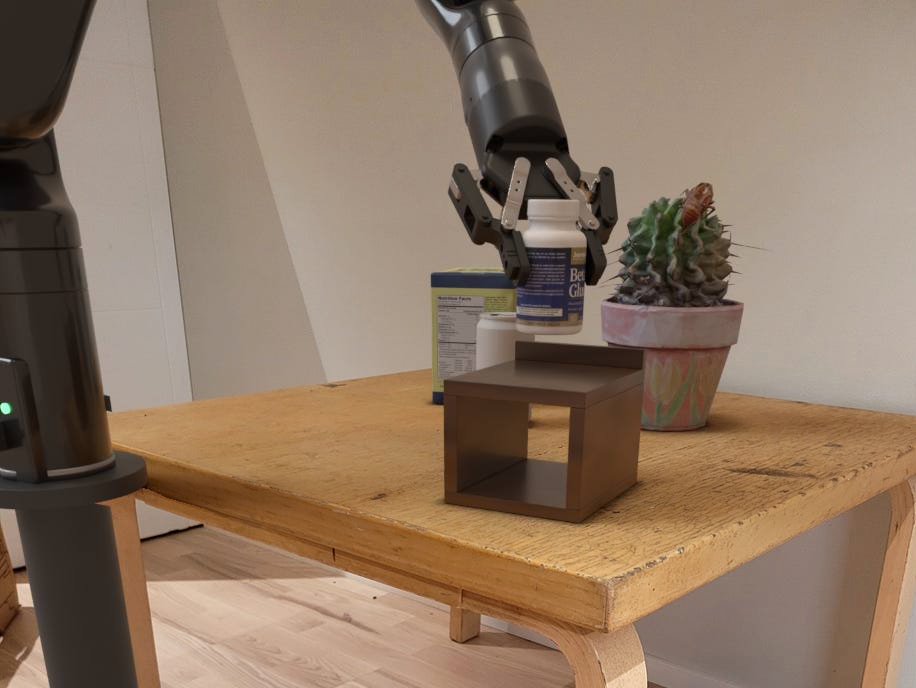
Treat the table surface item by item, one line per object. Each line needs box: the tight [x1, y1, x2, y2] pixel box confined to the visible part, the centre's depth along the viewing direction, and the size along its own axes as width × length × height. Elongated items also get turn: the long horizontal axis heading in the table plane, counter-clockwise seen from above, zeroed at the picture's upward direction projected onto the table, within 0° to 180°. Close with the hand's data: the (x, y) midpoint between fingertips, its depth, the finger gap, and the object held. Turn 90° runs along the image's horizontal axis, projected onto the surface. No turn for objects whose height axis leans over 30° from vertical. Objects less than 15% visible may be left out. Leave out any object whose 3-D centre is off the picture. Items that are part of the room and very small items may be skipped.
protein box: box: [430, 266, 536, 405], centre depth 123 cm, size 10×16×16 cm
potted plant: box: [595, 181, 774, 432], centre depth 106 cm, size 18×20×25 cm
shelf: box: [443, 340, 647, 524], centre depth 80 cm, size 14×12×12 cm
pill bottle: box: [516, 199, 587, 336], centre depth 75 cm, size 5×5×10 cm
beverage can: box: [476, 312, 534, 421], centre depth 107 cm, size 6×6×12 cm
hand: (559, 278), depth 74 cm, fingers closed on pill bottle, 5 cm apart
